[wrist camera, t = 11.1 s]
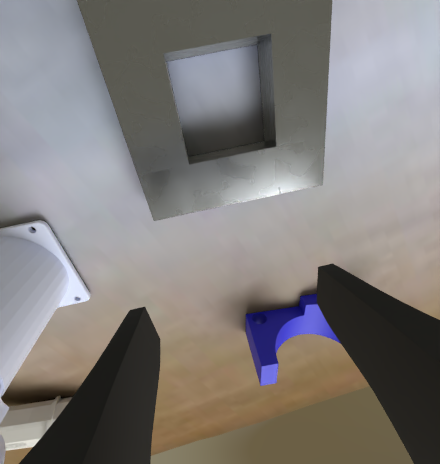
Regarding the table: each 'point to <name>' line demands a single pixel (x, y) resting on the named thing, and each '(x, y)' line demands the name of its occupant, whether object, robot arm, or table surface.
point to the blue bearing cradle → (282, 333)
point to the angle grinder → (30, 422)
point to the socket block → (164, 106)
